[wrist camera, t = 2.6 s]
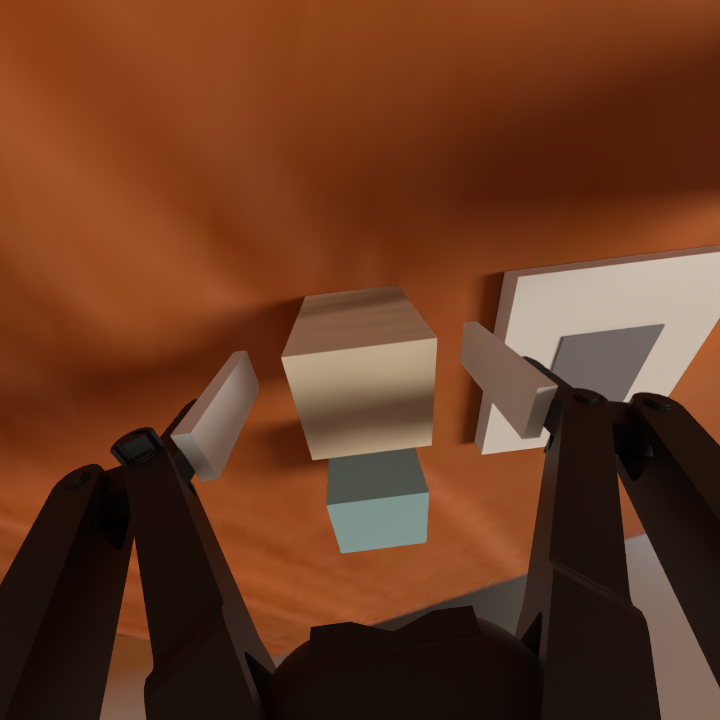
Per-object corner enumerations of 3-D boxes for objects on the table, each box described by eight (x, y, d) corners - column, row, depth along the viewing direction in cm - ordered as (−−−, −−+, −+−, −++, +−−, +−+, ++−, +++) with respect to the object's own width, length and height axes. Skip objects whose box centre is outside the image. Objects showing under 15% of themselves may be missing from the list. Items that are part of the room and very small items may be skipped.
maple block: (305, 296, 17) (280, 357, 10) (397, 284, 17) (437, 337, 10) (322, 372, 20) (312, 460, 13) (399, 362, 20) (431, 445, 13)
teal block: (330, 411, 22) (326, 505, 15) (400, 402, 22) (428, 492, 15) (340, 457, 25) (341, 553, 18) (402, 450, 25) (426, 542, 18)
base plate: (504, 271, 17) (519, 277, 15) (733, 243, 17) (770, 246, 15) (474, 441, 25) (482, 456, 23) (627, 422, 25) (645, 435, 23)
